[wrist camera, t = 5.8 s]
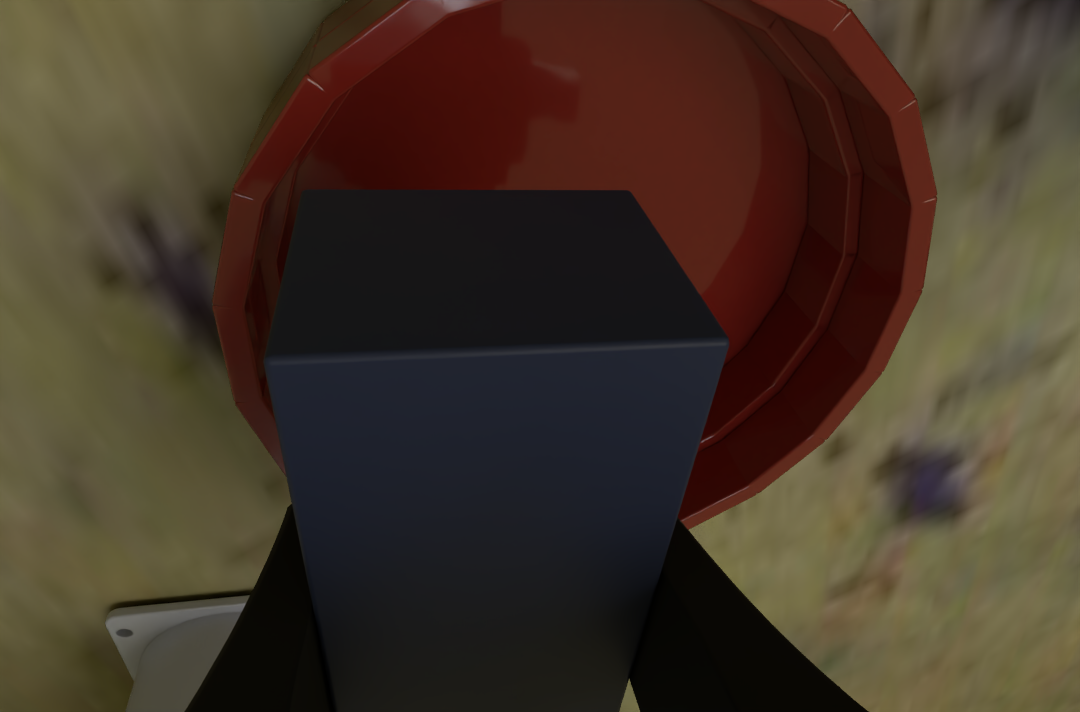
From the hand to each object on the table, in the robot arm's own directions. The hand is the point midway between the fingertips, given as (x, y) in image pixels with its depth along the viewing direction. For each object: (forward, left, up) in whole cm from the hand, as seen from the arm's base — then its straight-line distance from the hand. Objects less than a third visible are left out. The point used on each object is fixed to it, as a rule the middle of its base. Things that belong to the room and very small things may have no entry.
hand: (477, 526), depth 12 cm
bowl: (0, -3, -9) cm, 9 cm away
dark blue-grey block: (0, 0, -1) cm, 1 cm away
